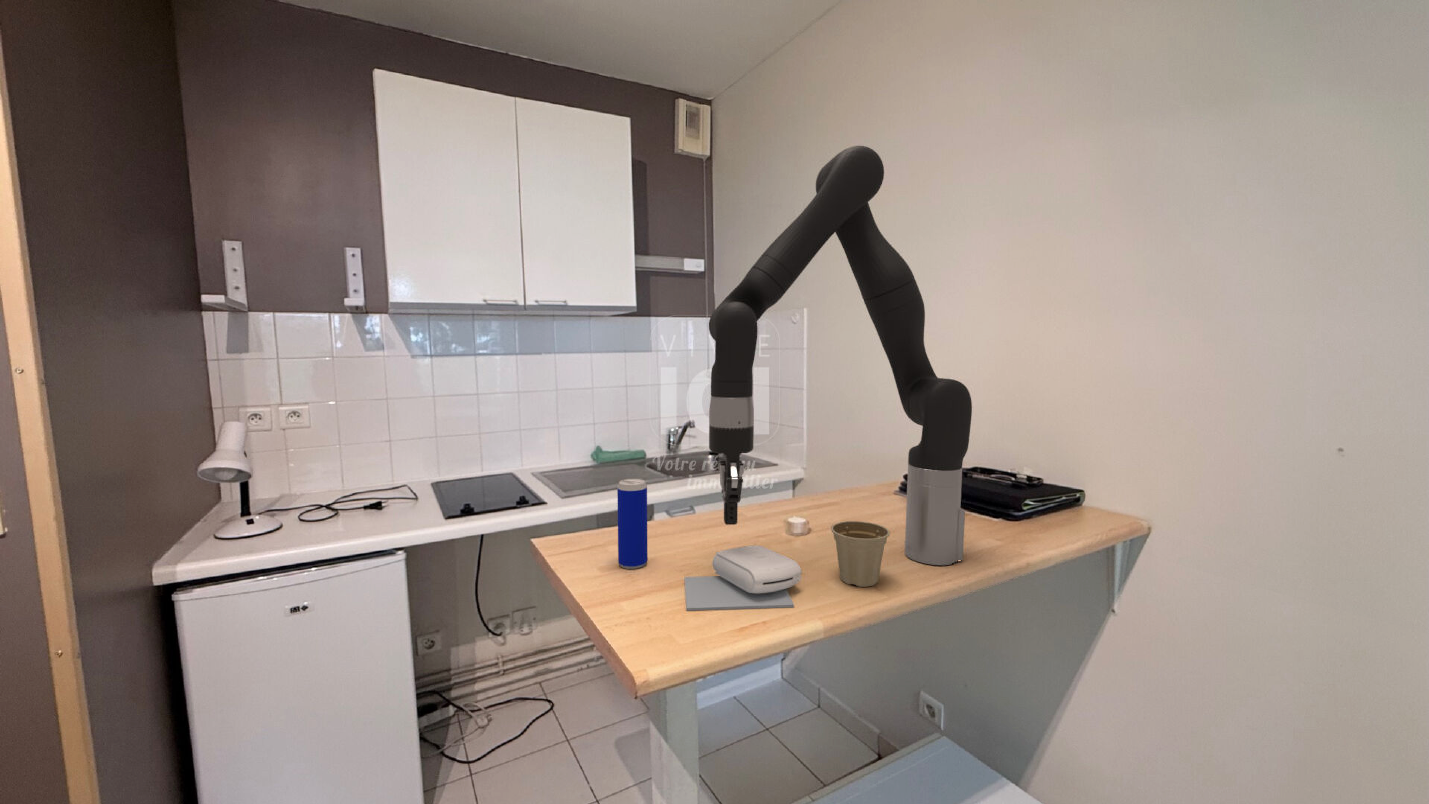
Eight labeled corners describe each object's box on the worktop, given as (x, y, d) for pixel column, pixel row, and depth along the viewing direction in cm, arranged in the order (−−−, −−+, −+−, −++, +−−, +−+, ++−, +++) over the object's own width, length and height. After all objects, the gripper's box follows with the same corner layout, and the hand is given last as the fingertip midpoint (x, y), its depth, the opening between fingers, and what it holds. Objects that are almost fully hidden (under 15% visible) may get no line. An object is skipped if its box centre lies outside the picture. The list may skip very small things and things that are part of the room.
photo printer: (761, 542, 95) (808, 562, 85) (760, 566, 96) (807, 589, 85) (711, 549, 90) (755, 572, 79) (710, 575, 90) (754, 601, 80)
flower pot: (817, 577, 91) (819, 527, 90) (853, 564, 97) (854, 517, 96) (863, 597, 84) (865, 543, 83) (899, 582, 89) (901, 531, 89)
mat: (779, 576, 91) (779, 574, 91) (794, 607, 80) (794, 604, 80) (684, 579, 90) (684, 576, 90) (686, 610, 79) (686, 608, 79)
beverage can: (653, 561, 97) (652, 480, 96) (637, 572, 93) (636, 486, 91) (629, 557, 100) (628, 477, 98) (612, 567, 95) (611, 483, 93)
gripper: (759, 428, 85) (758, 536, 86) (748, 418, 98) (747, 511, 99) (711, 428, 84) (711, 536, 86) (706, 418, 97) (706, 512, 99)
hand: (730, 523), depth 93 cm, fingers closed
